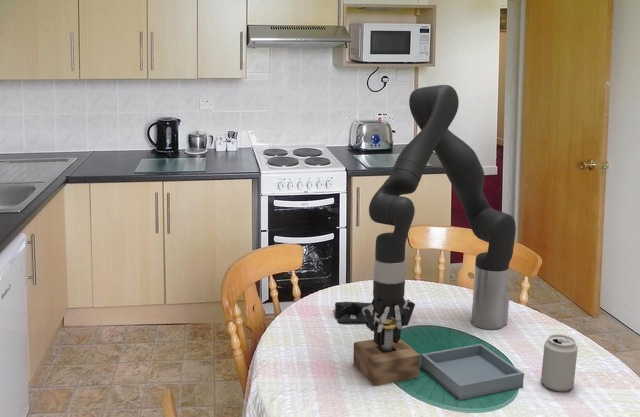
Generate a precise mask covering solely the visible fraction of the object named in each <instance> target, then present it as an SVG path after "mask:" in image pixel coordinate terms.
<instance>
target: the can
mask: <svg viewBox="0 0 640 417" xmlns="http://www.w3.org/2000/svg"><path fill="white" fill-rule="evenodd" d="M576 342H577V341H576V340H575V338H573V337H572V336H570V335H566V334H560V333H556V334H551V335H549V336H548V337H547V340H545V341H544V346H543V356H542V366H541V373H540V374H541V377H540V381H541V383H542V384H543V385H544V386H545V387H546V388H547V389H549V390H551V391H554V392H555V391H556V392H567V391H569V390H570V389H572V388H573V387H574V386H575V385H574V384H575V376H576V375H575V374H576V368H577V360H578V359H577V358H578V350H579V349H578V348H579V347H578V345H577V344H576Z"/></svg>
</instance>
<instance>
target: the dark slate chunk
mask: <svg viewBox="0 0 640 417" xmlns="http://www.w3.org/2000/svg"><path fill="white" fill-rule="evenodd" d="M371 303H372V302H364V301H363V302H361V301H360V302H359V301H337V302H335V303H334V314H335V316H334V317H336V318H335V319H336V321H337V323H339V324H340V323H343V324H344V325H345V324H353V323H355V324H356V325H358V324H366V323H365V320H364V317H363V314H362V311H361V308H362V307H363V306H365V307H367V306H369V305H371ZM402 311H403V307H402V309H401V310H400V316H401V314H402ZM372 312H373V313H372V315H371V316H372V319H373V323H374V321H375V319H374V317H375V313H376V312H375V310H374V309H373V311H372ZM351 316H355V318H352V317H351ZM387 319H390V320H392V318H391V317H389V318H387Z"/></svg>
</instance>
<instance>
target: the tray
mask: <svg viewBox="0 0 640 417" xmlns="http://www.w3.org/2000/svg"><path fill="white" fill-rule="evenodd" d="M420 368H421V369H422V368H423V369H424V371H425V373H427V374H428V375H429V376H430V375H431V376H430V377H432V378H433V379H434V380H435V381H436V382H437V383H439V384H440V385H441V386H442V387H443V388H445V390H446V391H448V392H449V393H450V394H452V395H453V396H454V397H455V398H456V399H457V400H459V401H462V400H467V399H472V398H476V397H481V396H485V395H486V396H487V395H490V394H491V395H492V394H495V393H501V392H505V391H510V390H514V389H520V388H523V387H524V378H525V373H524V372H522V371H521V370H520V369H518V368H517V367H516V366H514V365H512V363H510V362H508V361H507V360H505V359H504V358H502V357H501V356H500V355H498V354H497V353H496V352H494V351H492V350H491V349H490V348H488V347H487V346H485V345H484V344H482V343H475V344H471V345H466V346H460V347H455V348H449V349H444V350H443V349H442V350H436V351H432V352H427V353H421V354H420ZM423 369H422V370H423Z"/></svg>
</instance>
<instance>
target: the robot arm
mask: <svg viewBox="0 0 640 417" xmlns="http://www.w3.org/2000/svg"><path fill="white" fill-rule="evenodd" d="M459 100H460V99H459V95H458V92H457V90H456V89H455V88H454V87H453V86H452V85H448V84H438V85H431V86H425V87H424V86H423V87H419V88H415V89H414V90H413V91H411V93H410V94H409V99H408V103H409V104H408V106H409V110H410V113H411V116H412V118H413V119H414V121H415V123H416V125H417V126H418V128H419V130H420V131H419V132H418V133H417V134H416V136H414V137H413V139H412V140H410V142H409V143H408V144H406V146H405V147H404V148H403V149H402V150H401V152H400V153H399V155H398V157H397V159H396V161H395V163H394V164H393V167H392V170H391V172H390V175H389V177H387V179H386V180H385V181H384V182H383V184H382V185H381V186H380V187H379V188H378V190H377V191H376V192H375V193H374V195H373V197H372V198H371V200H370V202H369V205H368V214H369V218H370V220H372V222H374V223H377V224H383V225H387V226H393V228H394V230H393V232H392V231H391V232H385V233H384V232H383V233H380V234H378V235H377V237H376V238H375V248H374V250H375V252H374V253H375V254H374V263H373V280H372V281H373V282H372V283H373V284H372V287H373V288H372V297H373V298H372V301H371V302H370V303H371V305H369V306H367V307H365V306H363V307H362V308H361V311H362V314H363V317H364V320H365V323H364V324H365V326H366V328H367V329H369V330H370V331H371V332H373V339H374V342H375V343H376V344H377V345H378V346H382V332H381V331H382V328H383V324H385V321H386V319H387V318H389V317H391V318H392V320H393V321H395V322H396V324H397V327H396V328H395V329H394V333H393V342H394V343H398V342H399V340H400V339H401V334H402V333H401V332H402V328H403V327H406V326H408V325H409V323H410V321H411V319H412V318H411V317H412V315H413V312H414V309H415V307H416V304H415V302H413V301H411V300H410V299H405V291H406V290H405V286H406V261H405V260H406V245H407V244H406V243H407V240H408V235H409V232H410V230H411V226H412V222H413V220H414V217H415V212H416V209H415V205H414V202H413V201H412V199H411V198H409V197H406V196H402V195H410V194H413V193H415V192H416V191H417V189H418V187H419V184H420V182H421V179H422V177H423V174H424V172H425V169H426V167H427V165H428V162H429V160H430V158H431V156H432V154H433V153H435V155H436V156H437V158H438V160H439V162H440V164H441V166H442V168H443V171H444V173H445V175H446V176H447V178H448V181H449V182H450V184H451V185H452V188H453V189H454V192H455V193H456V195H457V198H458V199H459V201H460V203H461V205H462V207H463V210H464V212H465V215H466V218H467V221H468V224H469V226H470V228H471V231H472V233H473V234H474V236H475V237H476V238H477V239H479V240H481V241H483V242H486V243H488V247H487V251H485V252H481V253H479V254H477V255H476V257H475V263H474V277H473V290H472V291H473V292H472V305H471V306H472V307H471V317H470V318H471V320H470V321H471V324H472V325H473V326H475V327H477V328H480V329H483V330H484V329H485V330H498V329H501V328H503V327H504V326H507V325H508V320H509V319H508V317H509V307H510V305H509V304H510V293H509V292H508V281H509V280H508V279H509V270H510V267H509V266H510V262H511V260H512V258H513V256H514V255H513V254H514V247H515V241H516V232H517V226H516V221H515V220H516V219H515V218H514V217H513V216H512V215H511V214H509V213H506V212H503V211H500V210H496V209H494V208H493V207H491V205H490V204H489V202H488V200H487V198H486V196H485V194H484V185H485V171H484V168H483V166H482V163H481V162H480V160H479V157H478V156H477V153H476V152H475V151H474V149H473V148H472V147H471V145H469V144H467V143H466V142H465V141H463V140H462V139H461V138H460V137H458V136H457V135H456V134H454V133H453V132H452V131H451V130H450V129H449V127H450V126H451V125H452V122H454V119H455V118H456V116H457V113H458V109H459V104H460V103H459ZM402 307H403V311H402V314H401V316H400V310H401V309H402ZM373 309H374V310H375V312H376V313H375V317H374V319H375V321H374V323H373V319H372V316H371V315H372V313H373V312H372V311H373Z"/></svg>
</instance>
